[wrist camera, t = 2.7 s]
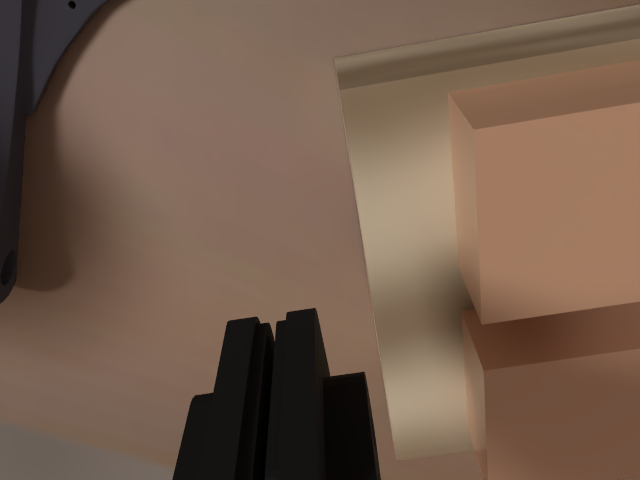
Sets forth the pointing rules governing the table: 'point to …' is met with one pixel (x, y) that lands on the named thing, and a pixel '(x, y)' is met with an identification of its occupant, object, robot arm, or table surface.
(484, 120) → the tile
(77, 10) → the bracket
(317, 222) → the table surface
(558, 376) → the tile
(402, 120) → the board
